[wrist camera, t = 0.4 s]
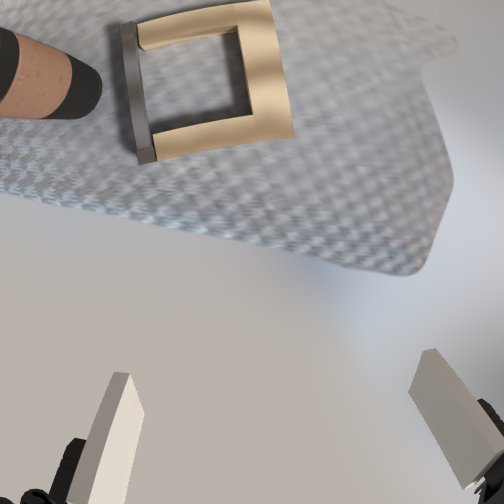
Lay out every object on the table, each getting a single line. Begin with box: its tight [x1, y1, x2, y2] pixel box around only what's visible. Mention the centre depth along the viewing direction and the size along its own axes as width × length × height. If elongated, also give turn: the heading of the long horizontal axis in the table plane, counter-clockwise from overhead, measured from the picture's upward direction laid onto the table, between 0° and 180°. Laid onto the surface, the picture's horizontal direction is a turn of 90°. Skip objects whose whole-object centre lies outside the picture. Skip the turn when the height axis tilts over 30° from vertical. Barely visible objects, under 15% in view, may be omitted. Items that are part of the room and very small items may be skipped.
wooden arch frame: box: [119, 0, 295, 165], centre depth 30 cm, size 17×17×4 cm
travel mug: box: [0, 27, 102, 119], centre depth 21 cm, size 8×8×20 cm
